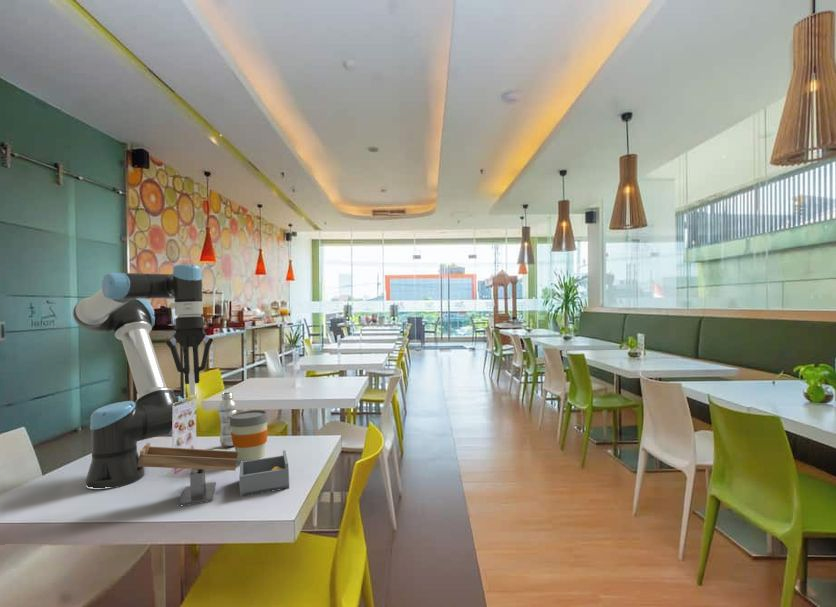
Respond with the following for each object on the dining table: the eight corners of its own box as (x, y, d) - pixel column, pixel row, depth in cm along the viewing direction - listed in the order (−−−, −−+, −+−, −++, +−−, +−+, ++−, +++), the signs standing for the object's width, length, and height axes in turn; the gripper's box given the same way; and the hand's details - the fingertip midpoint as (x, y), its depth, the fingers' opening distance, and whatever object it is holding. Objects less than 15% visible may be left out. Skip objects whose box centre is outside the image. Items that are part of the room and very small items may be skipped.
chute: (149, 453, 133) (153, 435, 133) (236, 457, 141) (239, 440, 141) (135, 471, 118) (139, 451, 118) (234, 475, 125) (237, 456, 126)
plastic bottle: (240, 446, 170) (238, 393, 170) (221, 450, 167) (219, 395, 167) (237, 442, 176) (235, 390, 176) (218, 445, 172) (216, 393, 172)
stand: (185, 489, 131) (184, 465, 131) (215, 484, 134) (214, 460, 134) (179, 506, 120) (178, 479, 120) (212, 500, 122) (211, 474, 122)
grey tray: (241, 480, 136) (240, 456, 136) (286, 472, 141) (285, 450, 141) (240, 496, 124) (239, 471, 124) (289, 488, 129) (288, 463, 129)
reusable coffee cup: (277, 452, 161) (275, 410, 161) (254, 464, 149) (252, 419, 149) (247, 450, 165) (245, 409, 165) (223, 462, 153) (221, 418, 153)
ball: (271, 482, 134) (265, 471, 133) (280, 474, 136) (275, 464, 136) (278, 482, 131) (273, 471, 131) (287, 474, 134) (282, 463, 134)
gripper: (162, 317, 131) (166, 399, 131) (211, 315, 135) (215, 394, 135) (167, 317, 138) (170, 394, 138) (214, 315, 142) (217, 390, 142)
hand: (192, 394), depth 136 cm, fingers closed
